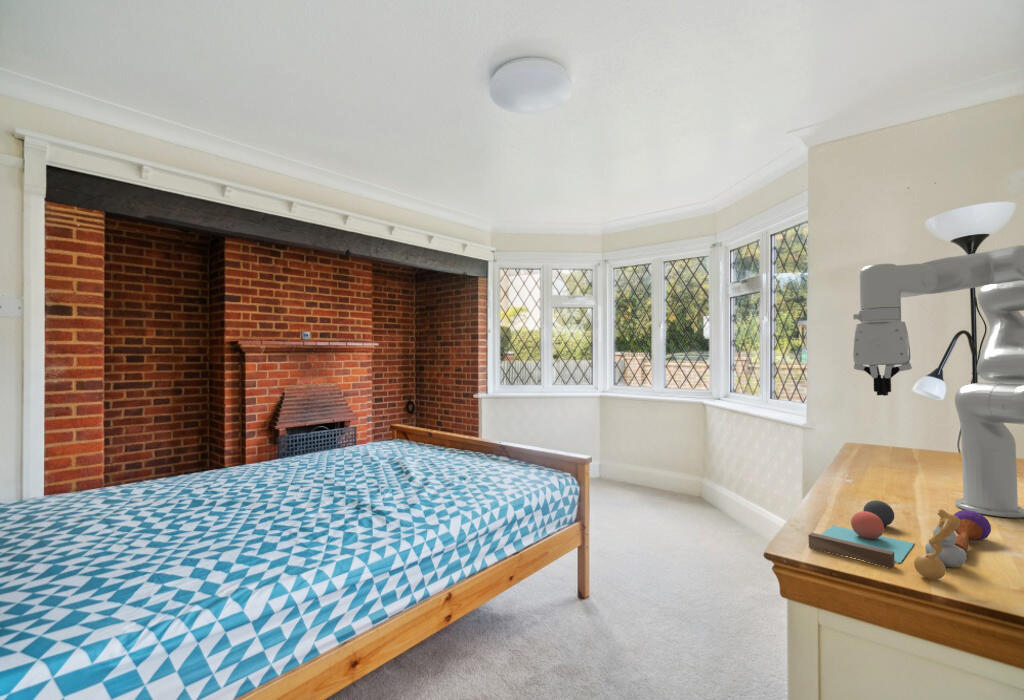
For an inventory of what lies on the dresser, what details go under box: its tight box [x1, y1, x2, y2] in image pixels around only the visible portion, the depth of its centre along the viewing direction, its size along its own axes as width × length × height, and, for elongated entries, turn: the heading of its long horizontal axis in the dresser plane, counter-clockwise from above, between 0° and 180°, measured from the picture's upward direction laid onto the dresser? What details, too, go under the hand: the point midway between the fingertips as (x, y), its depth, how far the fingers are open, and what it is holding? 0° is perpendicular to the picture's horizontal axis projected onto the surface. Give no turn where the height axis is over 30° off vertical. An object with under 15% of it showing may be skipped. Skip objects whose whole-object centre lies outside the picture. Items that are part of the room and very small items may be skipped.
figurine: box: [913, 508, 960, 581], centre depth 78 cm, size 8×6×12 cm
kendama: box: [953, 509, 992, 559], centre depth 93 cm, size 6×6×20 cm
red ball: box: [850, 511, 885, 539], centre depth 97 cm, size 6×6×6 cm
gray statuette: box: [924, 524, 967, 568], centre depth 85 cm, size 5×7×8 cm
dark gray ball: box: [863, 499, 895, 527], centre depth 105 cm, size 6×6×6 cm
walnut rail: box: [807, 532, 896, 569], centre depth 88 cm, size 2×13×2 cm, turn 41°
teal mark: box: [821, 525, 915, 564], centre depth 95 cm, size 14×14×1 cm
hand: (882, 395), depth 110 cm, fingers closed
